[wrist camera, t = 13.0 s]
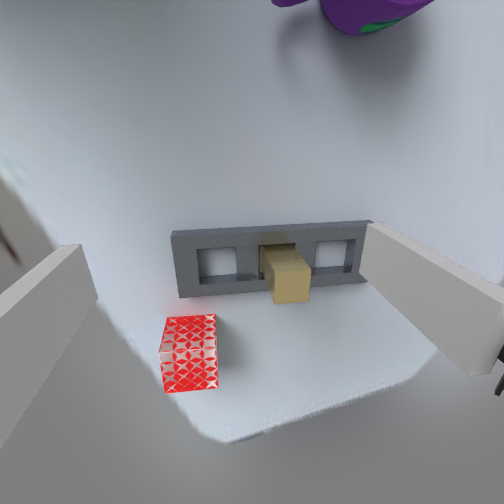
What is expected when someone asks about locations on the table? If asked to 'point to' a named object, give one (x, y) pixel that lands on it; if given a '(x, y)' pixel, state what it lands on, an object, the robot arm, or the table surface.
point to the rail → (247, 255)
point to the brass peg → (285, 273)
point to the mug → (363, 13)
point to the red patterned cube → (189, 353)
